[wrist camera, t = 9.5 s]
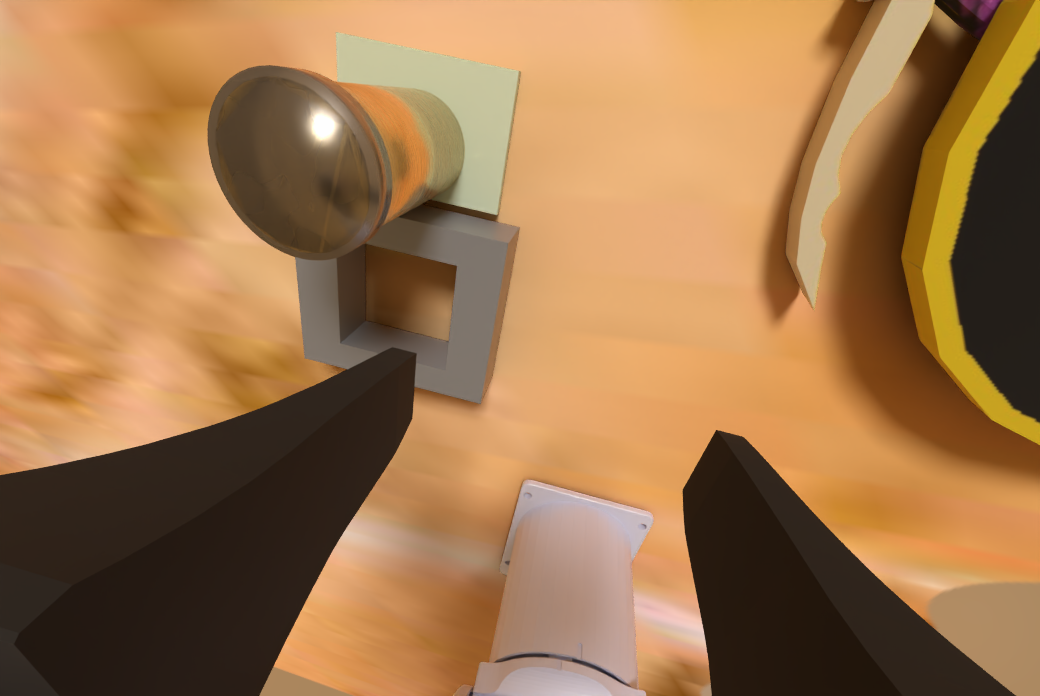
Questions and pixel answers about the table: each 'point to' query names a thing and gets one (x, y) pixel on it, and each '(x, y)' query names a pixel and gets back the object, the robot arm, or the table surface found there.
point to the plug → (328, 156)
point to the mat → (464, 89)
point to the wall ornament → (952, 197)
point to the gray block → (439, 364)
